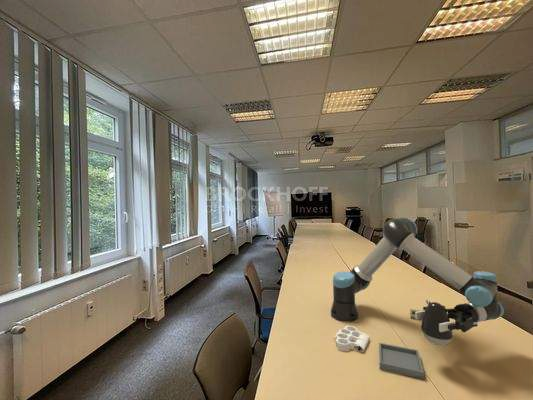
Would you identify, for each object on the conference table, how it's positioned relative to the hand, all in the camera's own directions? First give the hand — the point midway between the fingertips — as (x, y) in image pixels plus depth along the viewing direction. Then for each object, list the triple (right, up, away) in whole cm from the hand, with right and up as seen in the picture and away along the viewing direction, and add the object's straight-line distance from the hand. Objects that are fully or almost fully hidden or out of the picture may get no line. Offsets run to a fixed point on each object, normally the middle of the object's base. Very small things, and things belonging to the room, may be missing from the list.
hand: (427, 321), depth 95 cm
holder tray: (-9, -18, +3) cm, 20 cm away
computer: (+25, -18, +39) cm, 50 cm away
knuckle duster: (-23, -19, +18) cm, 35 cm away
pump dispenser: (+4, -9, +1) cm, 10 cm away
